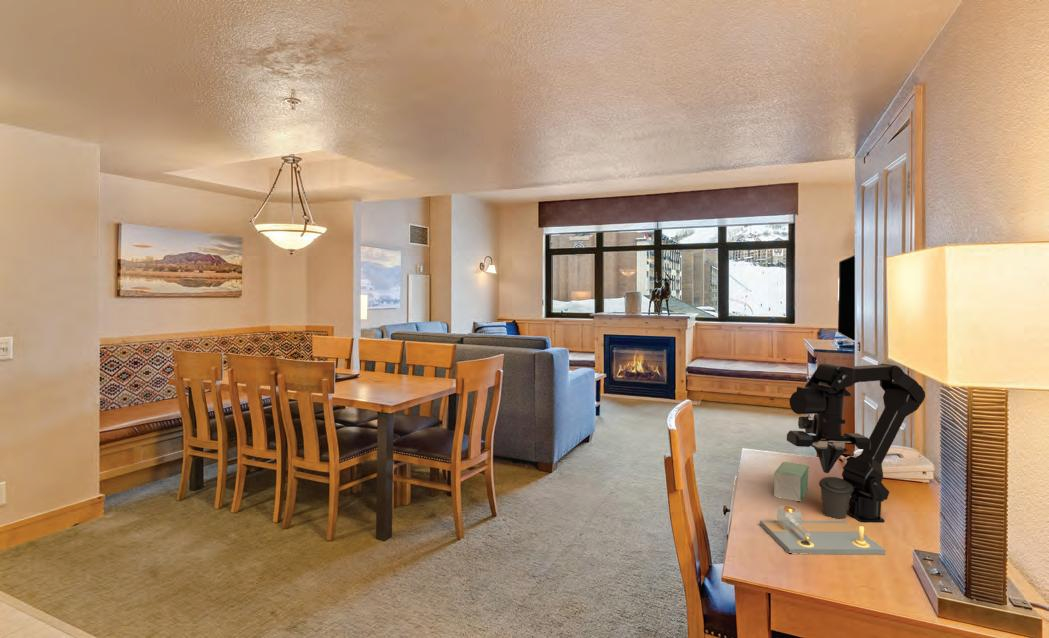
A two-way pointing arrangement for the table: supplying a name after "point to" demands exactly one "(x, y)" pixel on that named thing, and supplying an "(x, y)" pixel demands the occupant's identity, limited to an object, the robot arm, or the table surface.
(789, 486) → the box
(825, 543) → the jig plate
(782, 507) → the white block with bar
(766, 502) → the table surface
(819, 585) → the table surface
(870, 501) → the robot arm
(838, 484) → the coffee cup
